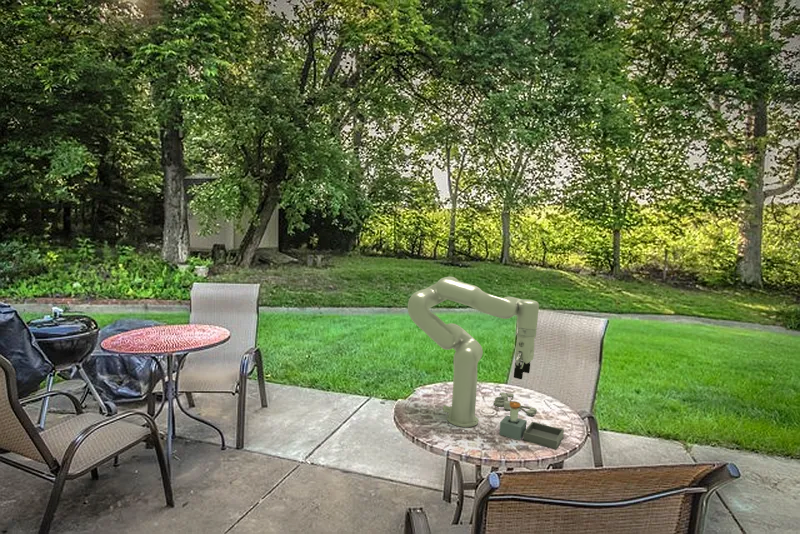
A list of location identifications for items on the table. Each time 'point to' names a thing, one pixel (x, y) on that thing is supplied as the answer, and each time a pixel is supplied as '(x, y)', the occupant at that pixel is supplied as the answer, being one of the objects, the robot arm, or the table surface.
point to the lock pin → (514, 411)
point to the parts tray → (543, 435)
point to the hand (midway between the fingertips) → (521, 375)
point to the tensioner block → (512, 428)
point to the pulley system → (505, 403)
